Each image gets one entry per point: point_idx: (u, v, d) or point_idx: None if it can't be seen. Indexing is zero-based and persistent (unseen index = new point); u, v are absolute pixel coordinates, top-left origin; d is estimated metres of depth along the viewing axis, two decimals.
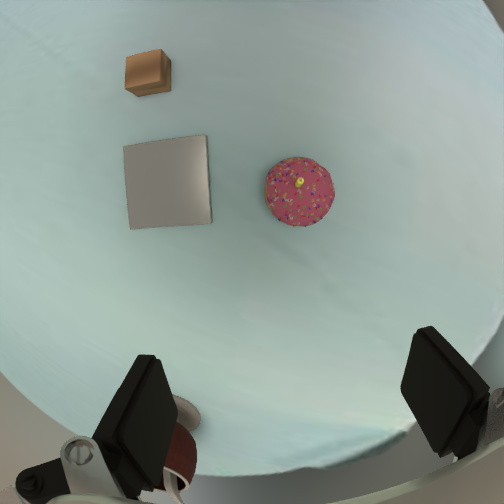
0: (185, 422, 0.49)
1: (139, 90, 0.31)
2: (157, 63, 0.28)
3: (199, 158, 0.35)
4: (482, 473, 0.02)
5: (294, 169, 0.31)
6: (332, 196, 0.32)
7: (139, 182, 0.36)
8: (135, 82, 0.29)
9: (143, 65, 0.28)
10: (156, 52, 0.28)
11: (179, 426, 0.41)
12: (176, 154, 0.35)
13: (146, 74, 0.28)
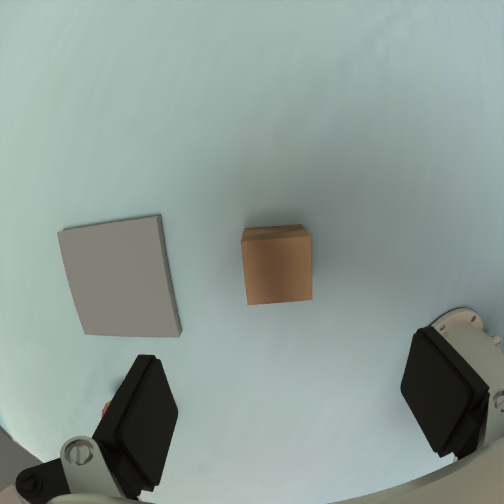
0: None
1: None
2: (282, 297, 0.21)
3: (148, 329, 0.27)
4: (482, 473, 0.02)
5: None
6: None
7: (108, 247, 0.24)
8: (249, 263, 0.21)
9: (284, 272, 0.21)
10: (307, 292, 0.21)
11: None
12: (149, 301, 0.26)
13: (264, 280, 0.21)
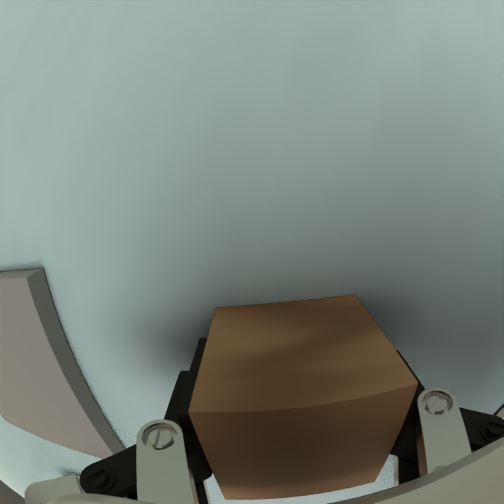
0: None
1: None
2: (308, 490, 0.06)
3: (73, 443, 0.11)
4: (482, 473, 0.02)
5: None
6: None
7: None
8: (222, 452, 0.05)
9: (321, 462, 0.06)
10: (367, 476, 0.06)
11: None
12: (60, 413, 0.11)
13: (266, 476, 0.06)
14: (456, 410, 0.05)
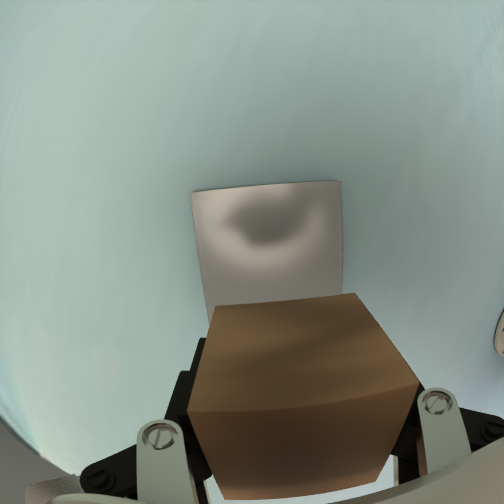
0: None
1: None
2: (308, 490, 0.06)
3: None
4: (482, 473, 0.02)
5: None
6: None
7: (274, 212, 0.22)
8: (220, 452, 0.05)
9: (321, 462, 0.06)
10: (368, 476, 0.06)
11: None
12: (316, 277, 0.23)
13: (266, 476, 0.06)
14: (456, 410, 0.05)
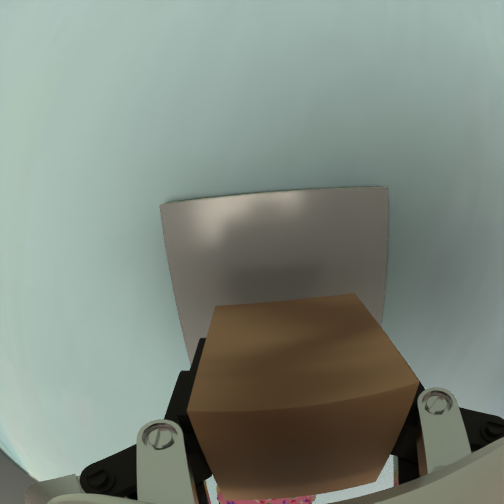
0: None
1: None
2: (308, 490, 0.06)
3: None
4: (482, 473, 0.02)
5: None
6: None
7: (290, 235, 0.14)
8: (220, 452, 0.05)
9: (321, 462, 0.06)
10: (368, 476, 0.06)
11: None
12: None
13: (266, 476, 0.06)
14: (456, 411, 0.05)
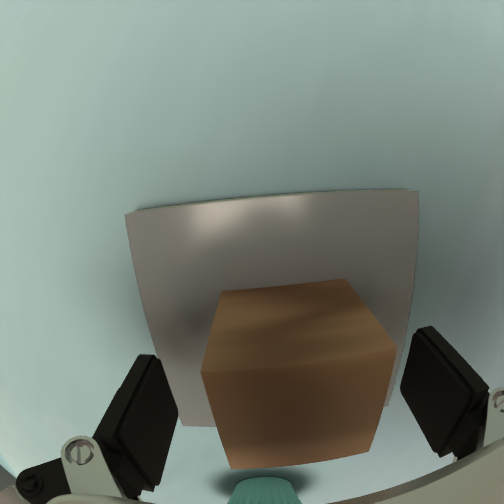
0: None
1: None
2: (306, 458, 0.07)
3: None
4: (482, 473, 0.02)
5: None
6: None
7: (294, 253, 0.11)
8: (228, 413, 0.07)
9: (317, 425, 0.07)
10: (361, 444, 0.07)
11: None
12: None
13: (268, 439, 0.07)
14: None
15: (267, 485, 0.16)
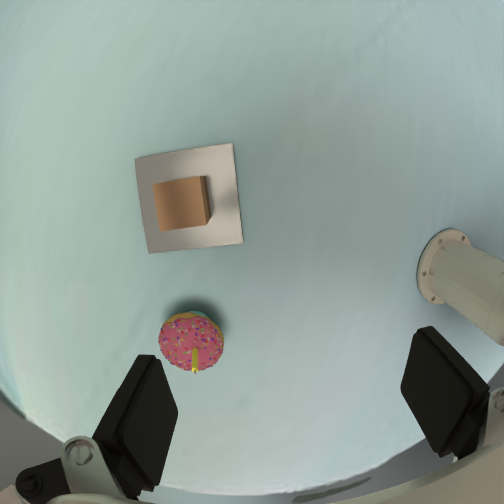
0: None
1: None
2: (183, 223, 0.28)
3: (216, 238, 0.34)
4: (482, 473, 0.02)
5: (209, 345, 0.32)
6: (192, 370, 0.34)
7: (187, 167, 0.31)
8: (158, 199, 0.27)
9: (183, 204, 0.28)
10: (201, 219, 0.28)
11: None
12: (220, 211, 0.33)
13: (170, 211, 0.28)
14: None
15: (193, 312, 0.37)
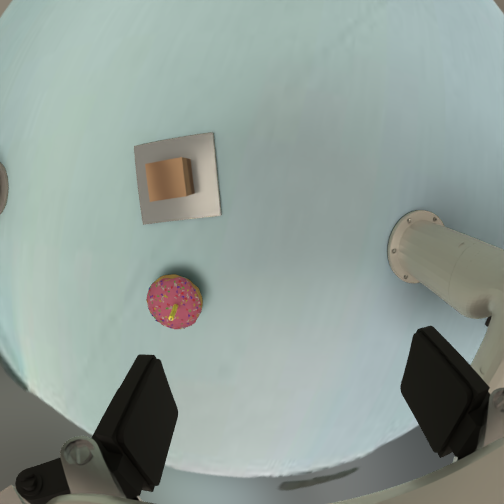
0: None
1: None
2: (168, 195, 0.34)
3: (198, 211, 0.40)
4: (482, 473, 0.02)
5: (188, 302, 0.38)
6: (174, 328, 0.40)
7: (176, 152, 0.37)
8: (149, 175, 0.33)
9: (168, 179, 0.34)
10: (182, 191, 0.34)
11: None
12: (201, 189, 0.39)
13: (158, 185, 0.34)
14: None
15: None
